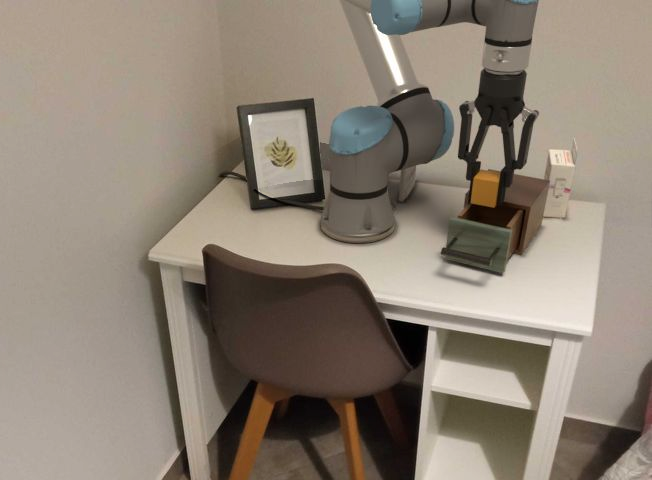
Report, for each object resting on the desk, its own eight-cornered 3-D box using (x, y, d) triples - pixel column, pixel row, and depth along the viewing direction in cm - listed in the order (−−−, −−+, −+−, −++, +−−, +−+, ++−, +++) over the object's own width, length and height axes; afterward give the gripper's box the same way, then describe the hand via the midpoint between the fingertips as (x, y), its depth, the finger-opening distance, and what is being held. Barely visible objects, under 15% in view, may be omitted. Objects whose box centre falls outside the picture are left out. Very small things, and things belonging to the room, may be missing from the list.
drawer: (492, 289, 125) (499, 247, 120) (432, 273, 130) (436, 232, 125) (523, 244, 138) (530, 205, 133) (467, 231, 142) (472, 193, 138)
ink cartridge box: (538, 199, 156) (550, 134, 147) (561, 201, 155) (575, 135, 146) (540, 217, 149) (554, 149, 140) (565, 218, 148) (580, 150, 139)
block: (477, 194, 134) (480, 169, 131) (501, 198, 132) (505, 173, 129) (470, 203, 131) (473, 177, 128) (494, 207, 129) (498, 181, 126)
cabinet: (521, 255, 136) (530, 207, 130) (459, 240, 141) (465, 193, 135) (541, 226, 146) (550, 180, 140) (481, 214, 151) (488, 168, 145)
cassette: (404, 202, 156) (407, 169, 151) (396, 201, 157) (398, 168, 152) (417, 181, 165) (419, 149, 160) (409, 180, 166) (411, 148, 161)
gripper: (446, 68, 119) (434, 198, 133) (551, 81, 112) (527, 216, 125) (461, 58, 124) (448, 184, 138) (563, 69, 117) (539, 201, 131)
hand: (486, 199), depth 132 cm, fingers closed on block, 4 cm apart
